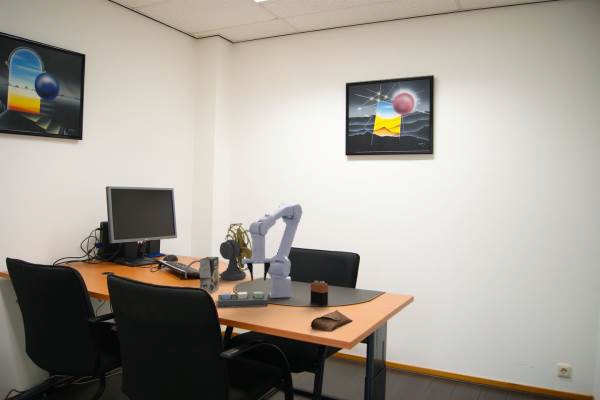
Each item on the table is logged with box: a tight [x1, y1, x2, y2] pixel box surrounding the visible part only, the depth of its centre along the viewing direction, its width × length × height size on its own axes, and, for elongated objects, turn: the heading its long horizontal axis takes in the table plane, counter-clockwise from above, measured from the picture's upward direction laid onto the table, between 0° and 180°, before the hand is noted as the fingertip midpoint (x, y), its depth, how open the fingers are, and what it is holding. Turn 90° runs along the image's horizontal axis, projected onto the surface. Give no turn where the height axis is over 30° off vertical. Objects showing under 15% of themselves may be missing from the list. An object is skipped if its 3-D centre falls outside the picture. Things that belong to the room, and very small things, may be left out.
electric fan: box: [184, 222, 252, 281], centre depth 263 cm, size 26×32×30 cm
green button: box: [253, 291, 264, 298], centre depth 214 cm, size 4×4×3 cm
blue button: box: [221, 292, 232, 299], centre depth 212 cm, size 4×4×3 cm
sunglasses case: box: [310, 309, 354, 333], centre depth 182 cm, size 18×7×7 cm
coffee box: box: [199, 256, 220, 294], centre depth 235 cm, size 9×6×16 cm
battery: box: [310, 280, 329, 307], centre depth 212 cm, size 4×7×10 cm, turn 47°
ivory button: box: [237, 291, 248, 299], centre depth 213 cm, size 4×4×3 cm
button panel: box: [217, 292, 269, 308], centre depth 213 cm, size 21×12×2 cm, turn 99°
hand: (258, 280), depth 213 cm, fingers open, 5 cm apart
